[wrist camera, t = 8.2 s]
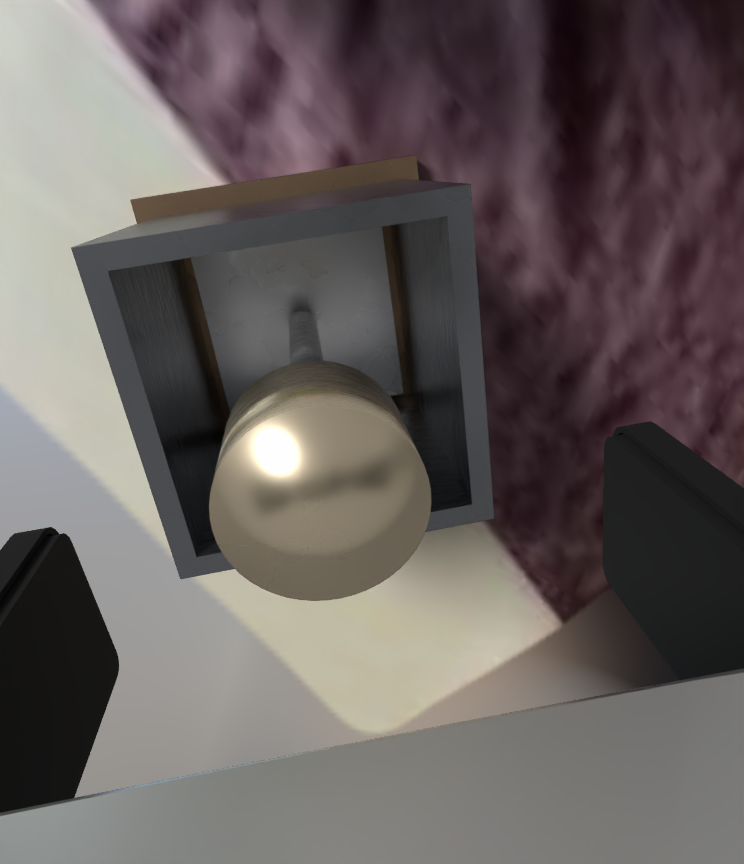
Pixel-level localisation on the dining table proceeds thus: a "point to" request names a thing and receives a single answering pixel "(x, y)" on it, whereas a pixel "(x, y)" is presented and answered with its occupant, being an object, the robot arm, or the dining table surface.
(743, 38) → the dining table surface
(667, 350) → the dining table surface
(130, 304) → the press housing
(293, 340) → the plunger
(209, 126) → the dining table surface
